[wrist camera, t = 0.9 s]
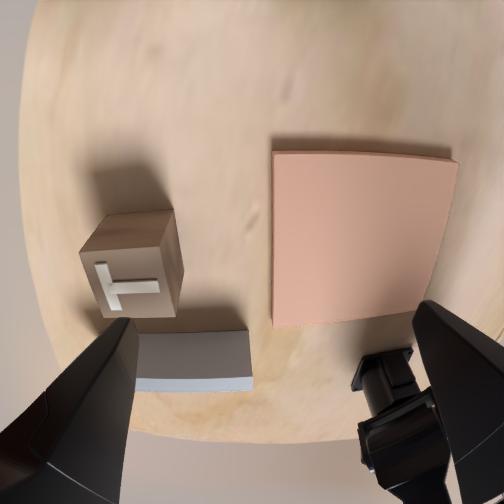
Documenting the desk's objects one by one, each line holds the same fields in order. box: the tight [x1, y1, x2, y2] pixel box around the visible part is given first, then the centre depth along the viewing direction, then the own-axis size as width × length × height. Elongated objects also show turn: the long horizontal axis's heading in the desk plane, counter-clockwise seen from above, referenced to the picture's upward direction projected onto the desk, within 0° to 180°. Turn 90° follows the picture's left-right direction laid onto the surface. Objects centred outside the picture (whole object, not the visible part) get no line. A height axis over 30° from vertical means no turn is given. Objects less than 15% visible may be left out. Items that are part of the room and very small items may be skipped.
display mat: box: [272, 150, 459, 329], centre depth 21 cm, size 14×14×1 cm
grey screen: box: [99, 330, 253, 393], centre depth 24 cm, size 2×14×5 cm, turn 92°
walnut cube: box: [79, 209, 184, 318], centre depth 19 cm, size 5×5×5 cm
